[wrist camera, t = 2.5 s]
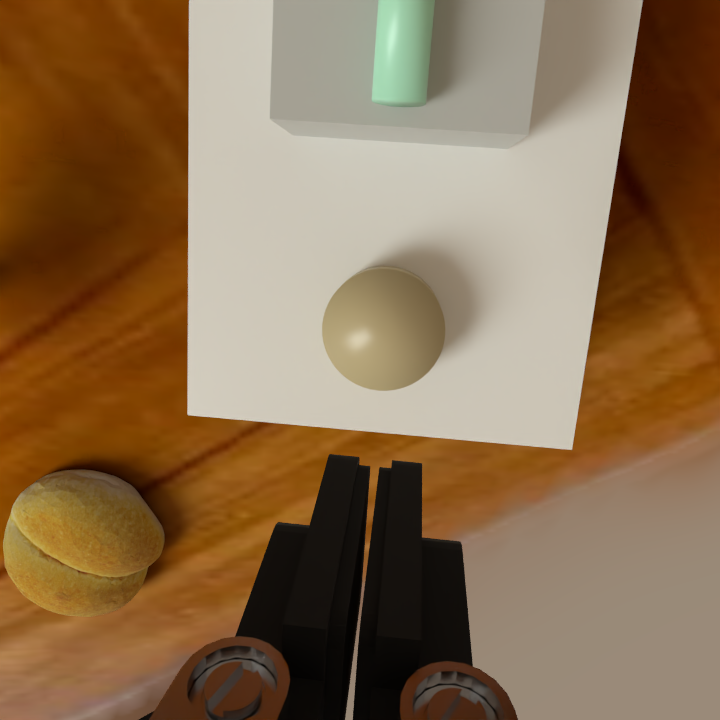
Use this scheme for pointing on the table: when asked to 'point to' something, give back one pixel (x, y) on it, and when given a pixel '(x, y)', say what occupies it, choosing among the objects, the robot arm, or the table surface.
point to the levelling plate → (401, 210)
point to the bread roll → (81, 542)
